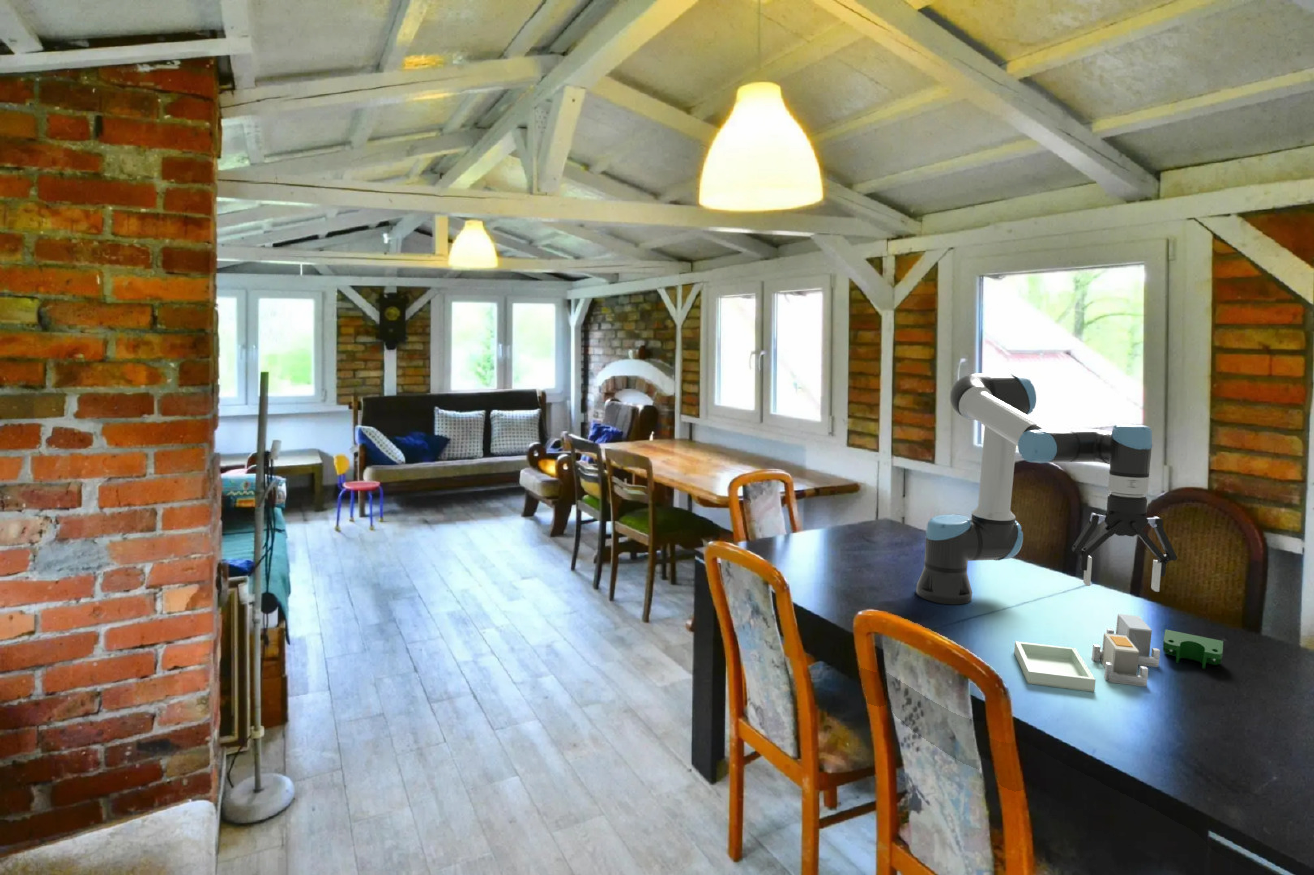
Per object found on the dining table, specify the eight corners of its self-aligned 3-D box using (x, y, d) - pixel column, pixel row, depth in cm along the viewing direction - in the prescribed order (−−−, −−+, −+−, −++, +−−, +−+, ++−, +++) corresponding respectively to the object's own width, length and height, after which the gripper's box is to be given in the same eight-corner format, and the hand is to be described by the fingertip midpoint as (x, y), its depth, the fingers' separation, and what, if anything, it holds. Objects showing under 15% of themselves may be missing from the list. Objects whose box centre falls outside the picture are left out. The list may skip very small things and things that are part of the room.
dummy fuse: (1126, 660, 176) (1129, 627, 175) (1114, 645, 185) (1117, 614, 184) (1148, 662, 175) (1152, 629, 174) (1135, 647, 184) (1139, 616, 183)
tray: (1027, 683, 164) (1028, 671, 163) (1014, 652, 180) (1015, 641, 179) (1094, 692, 160) (1095, 679, 160) (1074, 659, 176) (1075, 648, 176)
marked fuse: (1112, 678, 167) (1115, 647, 166) (1101, 661, 175) (1104, 632, 174) (1136, 681, 165) (1139, 650, 164) (1123, 664, 174) (1126, 634, 173)
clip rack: (1107, 682, 165) (1108, 666, 164) (1077, 637, 189) (1079, 623, 189) (1180, 691, 161) (1181, 675, 160) (1140, 644, 185) (1141, 630, 185)
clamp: (1169, 677, 178) (1154, 643, 177) (1171, 663, 182) (1157, 630, 181) (1230, 673, 169) (1214, 638, 169) (1231, 658, 174) (1215, 624, 173)
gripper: (1069, 493, 167) (1062, 586, 169) (1199, 500, 160) (1191, 597, 162) (1061, 488, 174) (1055, 577, 176) (1185, 494, 167) (1177, 587, 169)
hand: (1120, 587), depth 169 cm, fingers open, 13 cm apart
